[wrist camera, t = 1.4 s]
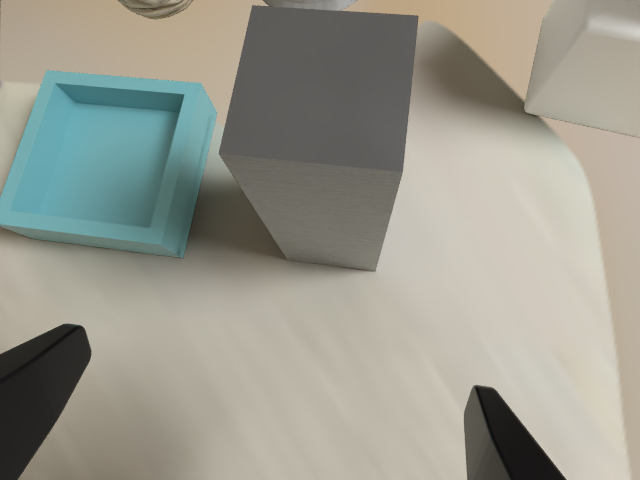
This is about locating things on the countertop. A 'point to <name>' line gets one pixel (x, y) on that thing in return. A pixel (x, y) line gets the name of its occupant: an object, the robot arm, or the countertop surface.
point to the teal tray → (110, 163)
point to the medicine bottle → (589, 65)
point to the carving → (156, 7)
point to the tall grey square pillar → (322, 128)
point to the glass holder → (311, 4)
